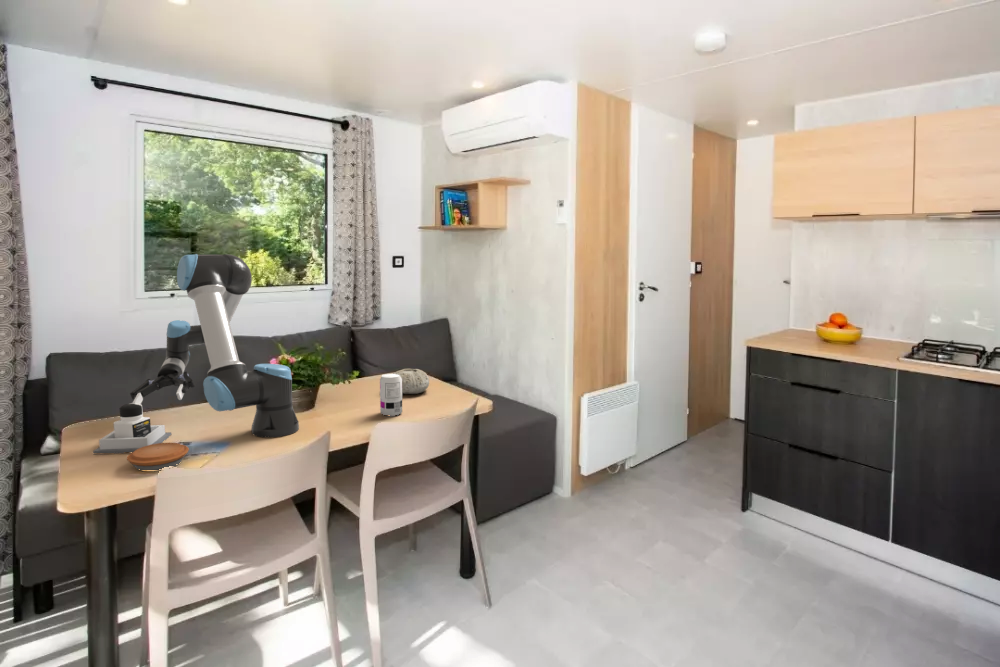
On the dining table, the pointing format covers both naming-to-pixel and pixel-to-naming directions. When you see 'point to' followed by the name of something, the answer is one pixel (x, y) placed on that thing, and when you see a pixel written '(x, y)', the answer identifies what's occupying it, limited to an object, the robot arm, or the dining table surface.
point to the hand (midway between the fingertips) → (157, 401)
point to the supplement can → (391, 394)
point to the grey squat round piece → (413, 381)
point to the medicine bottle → (132, 422)
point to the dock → (131, 441)
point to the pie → (158, 456)
